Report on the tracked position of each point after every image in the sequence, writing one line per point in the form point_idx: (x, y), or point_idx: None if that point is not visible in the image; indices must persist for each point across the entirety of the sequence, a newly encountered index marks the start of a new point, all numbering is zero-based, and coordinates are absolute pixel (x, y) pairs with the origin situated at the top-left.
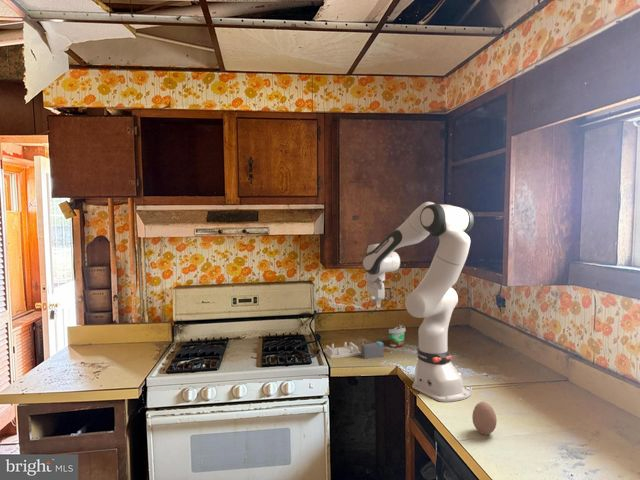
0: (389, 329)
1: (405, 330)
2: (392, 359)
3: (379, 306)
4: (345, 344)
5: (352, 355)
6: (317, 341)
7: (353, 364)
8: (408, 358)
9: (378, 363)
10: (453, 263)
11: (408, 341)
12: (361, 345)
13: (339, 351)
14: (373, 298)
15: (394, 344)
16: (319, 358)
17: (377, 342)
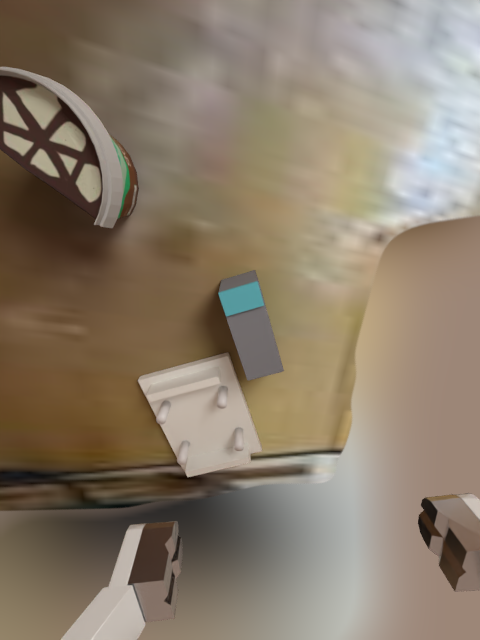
0: (98, 221)
1: (50, 79)
2: (299, 239)
3: (476, 509)
4: (167, 415)
5: (239, 384)
6: (70, 478)
7: (323, 387)
8: (299, 157)
9: (333, 304)
10: None
11: None
12: (251, 377)
13: (207, 425)
14: (133, 614)
15: (134, 191)
16: (250, 473)
17: (237, 309)
